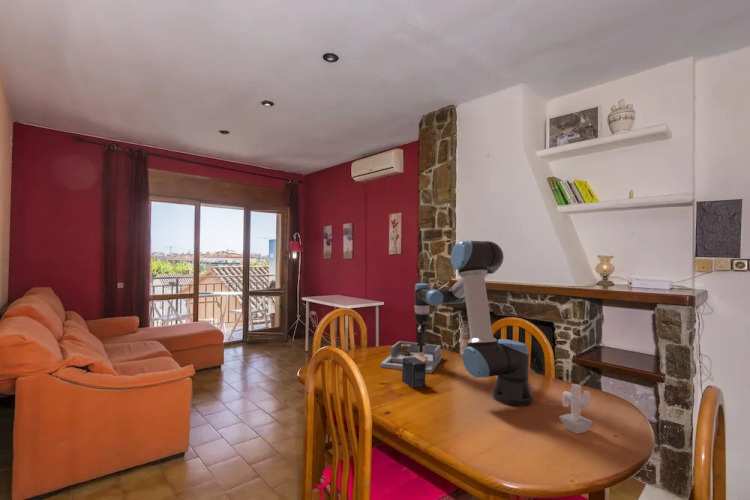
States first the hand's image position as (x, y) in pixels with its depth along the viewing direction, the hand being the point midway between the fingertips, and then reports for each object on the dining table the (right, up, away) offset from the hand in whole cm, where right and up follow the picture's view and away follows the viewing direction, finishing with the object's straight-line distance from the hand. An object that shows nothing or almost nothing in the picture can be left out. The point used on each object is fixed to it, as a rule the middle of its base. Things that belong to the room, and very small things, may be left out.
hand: (421, 357), depth 194 cm
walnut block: (-7, -1, +11) cm, 13 cm away
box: (-7, -3, -29) cm, 30 cm away
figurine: (+43, -4, -71) cm, 83 cm away
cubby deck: (-4, -3, +2) cm, 6 cm away
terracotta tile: (-3, -1, -7) cm, 8 cm away
